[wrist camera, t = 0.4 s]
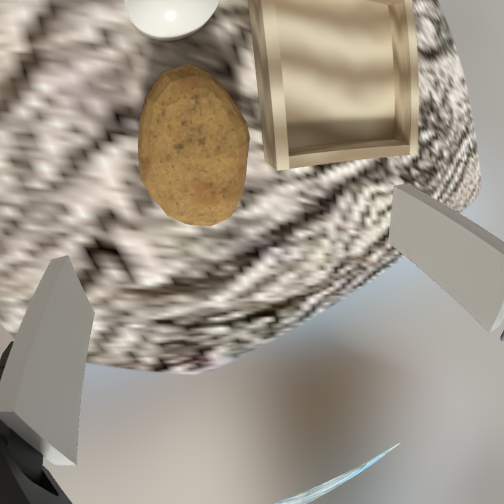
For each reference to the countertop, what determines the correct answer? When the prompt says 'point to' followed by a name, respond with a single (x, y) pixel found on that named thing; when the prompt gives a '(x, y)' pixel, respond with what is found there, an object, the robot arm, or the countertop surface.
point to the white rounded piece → (169, 17)
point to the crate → (335, 79)
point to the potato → (193, 147)
